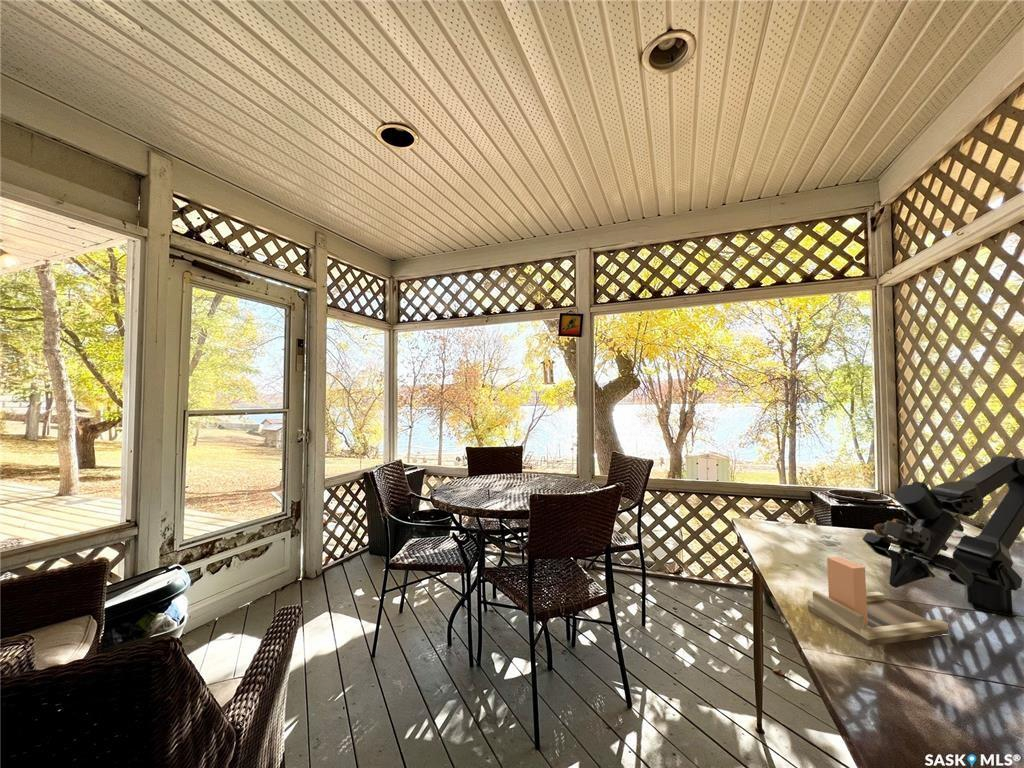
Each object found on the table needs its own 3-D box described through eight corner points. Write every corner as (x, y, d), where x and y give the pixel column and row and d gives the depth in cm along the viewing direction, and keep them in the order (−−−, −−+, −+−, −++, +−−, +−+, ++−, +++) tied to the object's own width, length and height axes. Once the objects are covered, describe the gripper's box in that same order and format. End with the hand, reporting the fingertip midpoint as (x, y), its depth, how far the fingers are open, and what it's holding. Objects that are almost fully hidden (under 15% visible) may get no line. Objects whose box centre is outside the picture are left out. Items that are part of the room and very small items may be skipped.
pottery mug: (891, 536, 143) (906, 519, 140) (914, 557, 135) (930, 539, 131) (860, 529, 143) (874, 511, 139) (881, 550, 134) (897, 531, 131)
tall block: (840, 609, 92) (838, 556, 92) (867, 624, 86) (864, 567, 87) (829, 611, 92) (827, 557, 92) (855, 625, 86) (852, 568, 86)
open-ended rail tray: (878, 601, 98) (877, 581, 98) (948, 635, 84) (947, 610, 84) (807, 609, 95) (806, 588, 95) (868, 645, 81) (867, 620, 82)
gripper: (866, 499, 101) (830, 547, 99) (958, 521, 83) (916, 581, 81) (894, 528, 102) (859, 576, 100) (992, 556, 84) (951, 616, 82)
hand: (892, 585), depth 91 cm, fingers closed
